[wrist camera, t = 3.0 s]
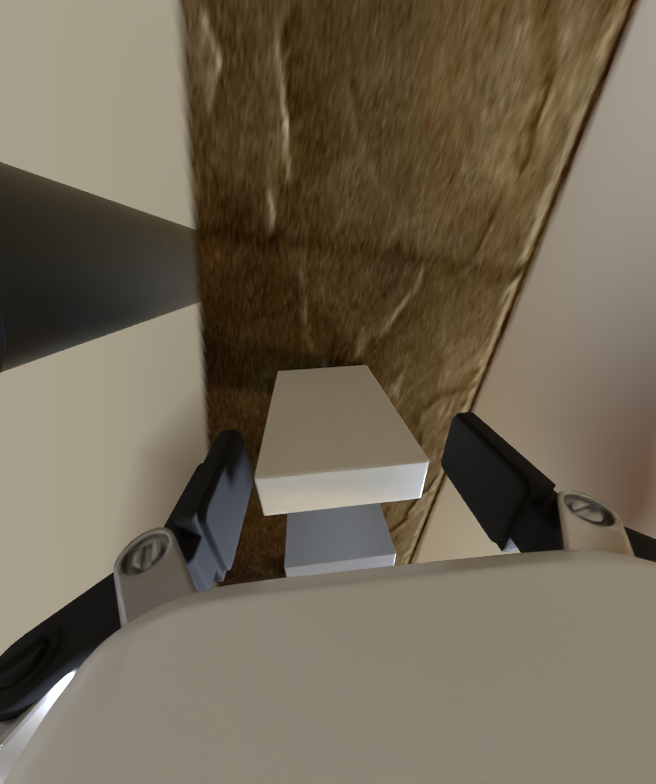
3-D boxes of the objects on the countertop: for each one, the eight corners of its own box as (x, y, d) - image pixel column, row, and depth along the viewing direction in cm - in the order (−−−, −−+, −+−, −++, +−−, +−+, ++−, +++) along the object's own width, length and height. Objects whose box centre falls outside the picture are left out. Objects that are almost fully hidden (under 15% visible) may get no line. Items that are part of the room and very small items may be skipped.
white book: (281, 396, 16) (262, 516, 9) (277, 370, 16) (253, 478, 8) (365, 390, 17) (421, 498, 9) (366, 364, 16) (430, 460, 8)
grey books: (295, 494, 21) (293, 606, 14) (290, 457, 19) (284, 568, 12) (360, 487, 22) (388, 593, 15) (362, 450, 20) (396, 553, 13)
